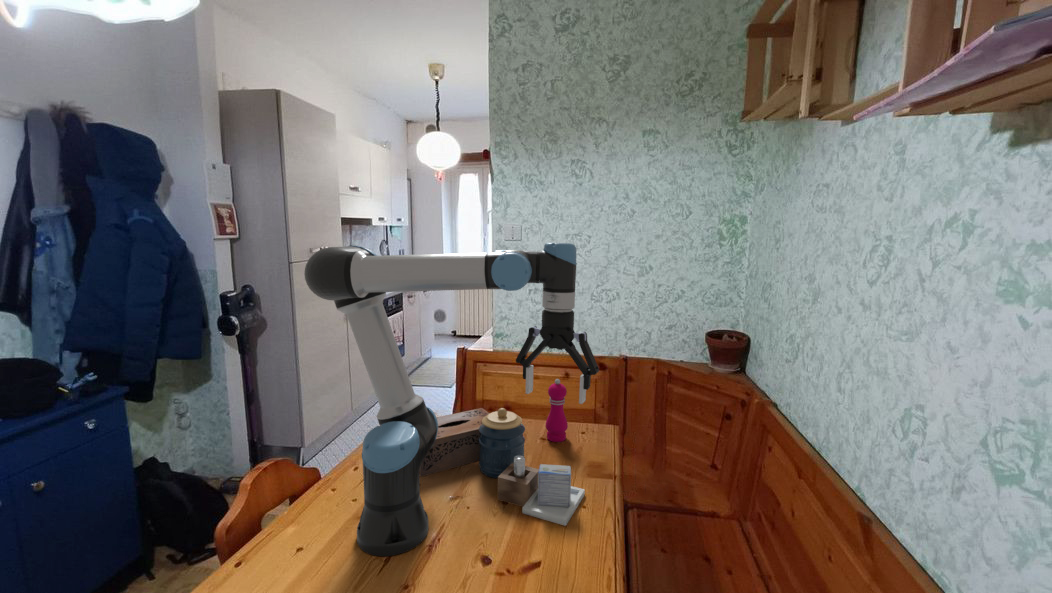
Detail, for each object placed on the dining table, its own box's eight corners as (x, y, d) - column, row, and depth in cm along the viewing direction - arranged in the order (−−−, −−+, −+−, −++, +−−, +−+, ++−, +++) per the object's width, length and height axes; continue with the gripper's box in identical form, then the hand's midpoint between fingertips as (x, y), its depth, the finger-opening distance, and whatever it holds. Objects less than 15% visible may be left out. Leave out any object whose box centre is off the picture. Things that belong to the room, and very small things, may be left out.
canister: (496, 485, 120) (497, 421, 118) (470, 465, 130) (469, 406, 128) (533, 469, 128) (534, 409, 126) (506, 452, 138) (506, 397, 136)
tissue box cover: (481, 436, 150) (481, 407, 149) (503, 454, 138) (503, 423, 136) (404, 455, 136) (403, 424, 135) (420, 477, 124) (420, 442, 123)
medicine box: (570, 497, 114) (571, 465, 113) (570, 508, 109) (571, 474, 108) (539, 495, 115) (539, 463, 113) (537, 506, 110) (538, 472, 109)
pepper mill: (571, 436, 150) (572, 378, 148) (560, 445, 144) (562, 384, 141) (551, 431, 154) (553, 374, 151) (541, 439, 148) (542, 380, 145)
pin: (511, 496, 115) (511, 459, 114) (516, 491, 117) (517, 454, 116) (521, 499, 114) (521, 461, 112) (526, 493, 116) (526, 456, 115)
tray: (522, 513, 108) (522, 507, 108) (544, 484, 121) (544, 479, 120) (565, 525, 103) (566, 519, 103) (584, 494, 116) (584, 489, 116)
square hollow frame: (497, 499, 114) (497, 477, 113) (512, 484, 121) (512, 462, 120) (526, 507, 110) (527, 484, 109) (539, 491, 117) (540, 469, 117)
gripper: (503, 306, 108) (501, 392, 110) (606, 316, 97) (601, 411, 100) (517, 302, 114) (515, 384, 117) (615, 312, 104) (610, 401, 107)
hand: (555, 397), depth 109 cm, fingers open, 13 cm apart
